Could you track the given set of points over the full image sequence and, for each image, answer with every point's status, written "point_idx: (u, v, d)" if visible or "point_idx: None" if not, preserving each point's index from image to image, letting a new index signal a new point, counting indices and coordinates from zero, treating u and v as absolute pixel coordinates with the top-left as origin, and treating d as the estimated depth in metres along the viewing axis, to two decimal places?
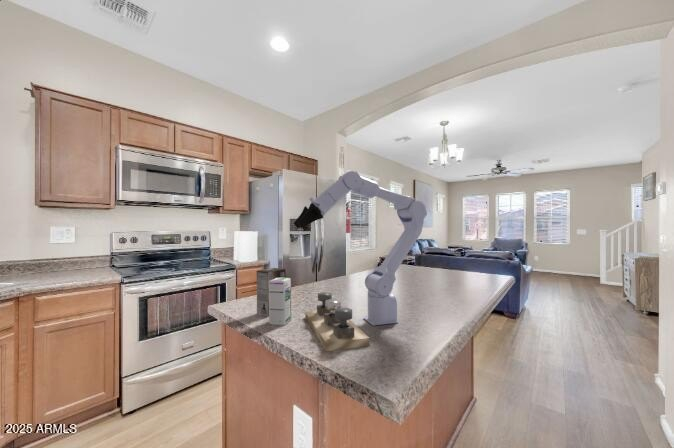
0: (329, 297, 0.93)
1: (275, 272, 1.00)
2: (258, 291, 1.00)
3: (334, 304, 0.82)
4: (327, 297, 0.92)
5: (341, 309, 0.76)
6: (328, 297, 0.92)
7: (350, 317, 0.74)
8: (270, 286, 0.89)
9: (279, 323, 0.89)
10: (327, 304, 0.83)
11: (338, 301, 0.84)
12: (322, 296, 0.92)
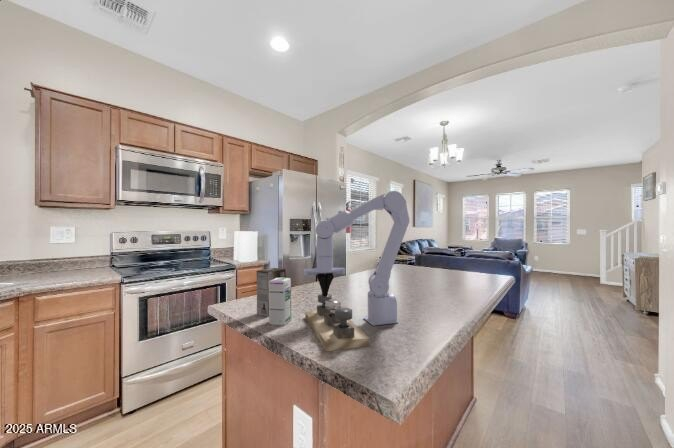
0: None
1: (275, 272, 1.00)
2: (258, 291, 1.00)
3: (334, 304, 0.82)
4: (327, 299, 0.92)
5: (341, 309, 0.76)
6: (328, 299, 0.92)
7: (350, 317, 0.74)
8: (270, 286, 0.89)
9: (279, 323, 0.89)
10: (327, 304, 0.83)
11: (338, 301, 0.84)
12: (322, 298, 0.92)
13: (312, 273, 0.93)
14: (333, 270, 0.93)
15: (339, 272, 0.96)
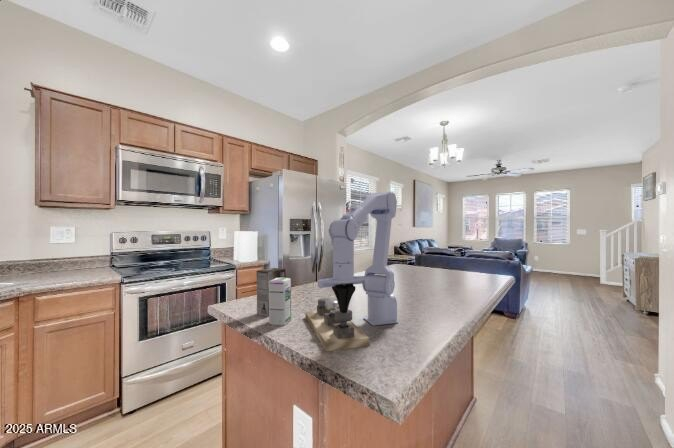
0: None
1: (275, 272, 1.00)
2: (258, 291, 1.00)
3: (334, 304, 0.82)
4: None
5: None
6: None
7: (350, 319, 0.74)
8: (270, 286, 0.89)
9: (279, 323, 0.89)
10: (327, 304, 0.83)
11: None
12: (322, 302, 0.92)
13: (329, 284, 0.73)
14: (355, 280, 0.74)
15: (360, 282, 0.77)
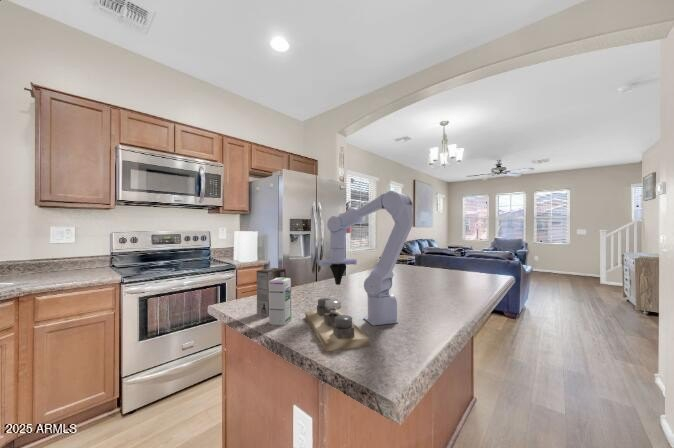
0: None
1: (275, 272, 1.00)
2: (258, 291, 1.00)
3: (334, 304, 0.82)
4: None
5: (341, 317, 0.76)
6: None
7: (350, 325, 0.74)
8: (270, 286, 0.89)
9: (279, 323, 0.89)
10: (327, 304, 0.83)
11: (338, 301, 0.84)
12: (322, 302, 0.92)
13: (326, 263, 1.02)
14: (346, 261, 1.02)
15: (351, 263, 1.05)
